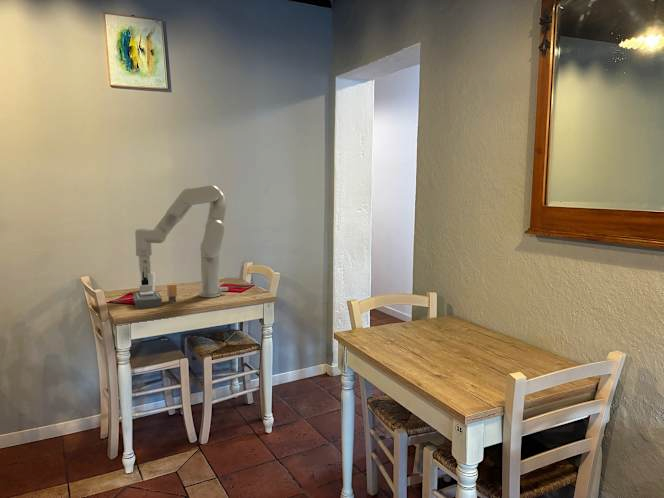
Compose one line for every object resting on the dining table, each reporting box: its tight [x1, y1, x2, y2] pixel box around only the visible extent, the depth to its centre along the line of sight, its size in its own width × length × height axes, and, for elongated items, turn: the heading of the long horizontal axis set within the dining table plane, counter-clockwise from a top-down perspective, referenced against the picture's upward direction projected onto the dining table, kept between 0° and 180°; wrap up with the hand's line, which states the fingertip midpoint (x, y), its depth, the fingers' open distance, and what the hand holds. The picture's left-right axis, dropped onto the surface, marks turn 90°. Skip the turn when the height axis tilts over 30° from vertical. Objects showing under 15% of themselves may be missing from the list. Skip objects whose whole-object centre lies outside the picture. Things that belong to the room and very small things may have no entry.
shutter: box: [138, 284, 154, 296], centre depth 246 cm, size 6×6×4 cm
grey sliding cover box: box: [133, 290, 163, 310], centre depth 244 cm, size 12×16×5 cm
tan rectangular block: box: [166, 282, 178, 303], centre depth 249 cm, size 4×4×9 cm
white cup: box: [139, 271, 156, 291], centre depth 269 cm, size 8×8×10 cm
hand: (145, 286), depth 253 cm, fingers closed
